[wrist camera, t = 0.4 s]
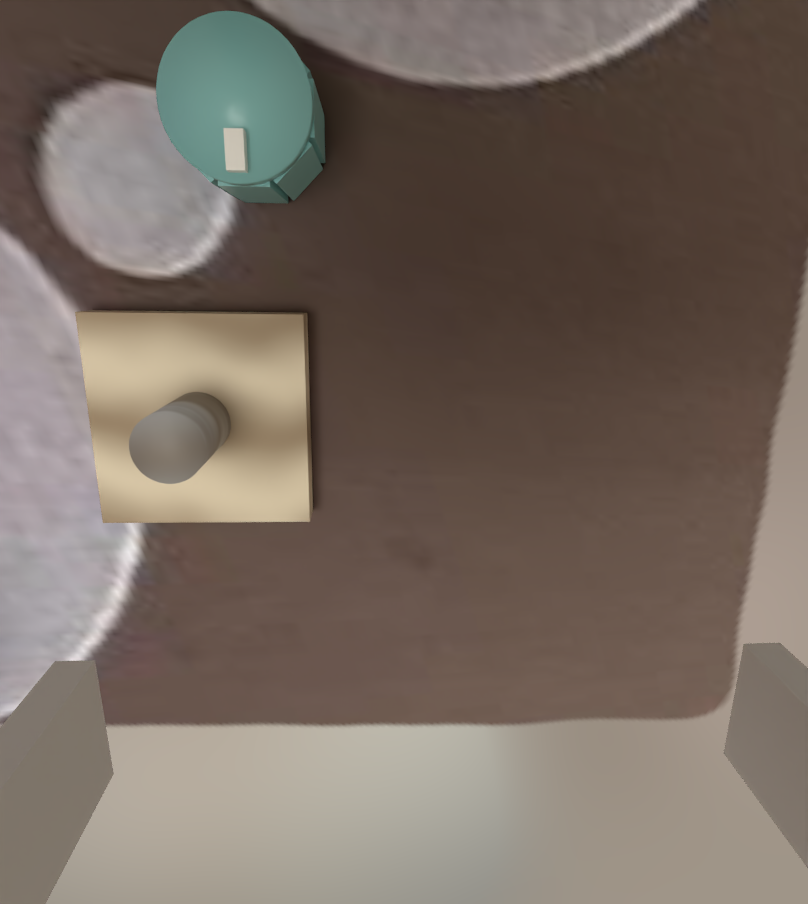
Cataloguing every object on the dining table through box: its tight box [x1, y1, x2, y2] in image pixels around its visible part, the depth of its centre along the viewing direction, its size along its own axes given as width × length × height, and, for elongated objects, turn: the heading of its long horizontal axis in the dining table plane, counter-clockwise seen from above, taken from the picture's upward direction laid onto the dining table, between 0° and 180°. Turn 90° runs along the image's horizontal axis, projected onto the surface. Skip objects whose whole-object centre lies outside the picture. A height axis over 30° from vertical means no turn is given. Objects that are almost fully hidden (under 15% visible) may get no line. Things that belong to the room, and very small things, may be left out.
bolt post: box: [75, 310, 313, 523], centre depth 32 cm, size 12×12×8 cm
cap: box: [156, 11, 325, 203], centre depth 28 cm, size 6×6×8 cm
